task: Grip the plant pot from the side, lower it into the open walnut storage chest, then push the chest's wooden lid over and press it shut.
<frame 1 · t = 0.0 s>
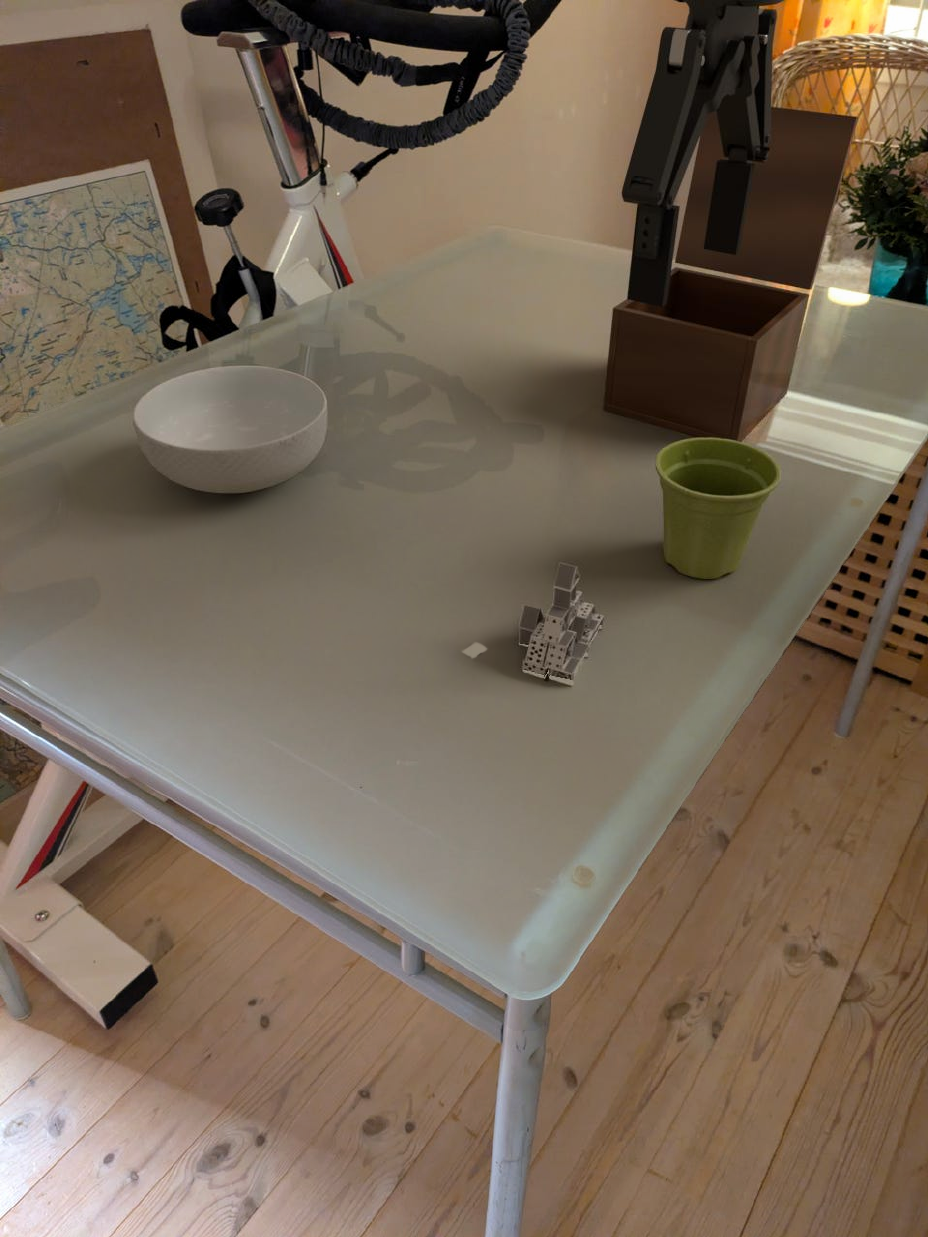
hand: (686, 275, 71), 20 cm above the table, tool pointing down, fingers open, 13 cm apart
house of cards: (536, 638, 70), on the table
plant pot: (699, 560, 78), on the table
chest lid: (760, 194, 95), point 19 cm above the table, hinge at 100.0°
chest: (696, 401, 101), on the table
cereal bowl: (242, 474, 89), on the table
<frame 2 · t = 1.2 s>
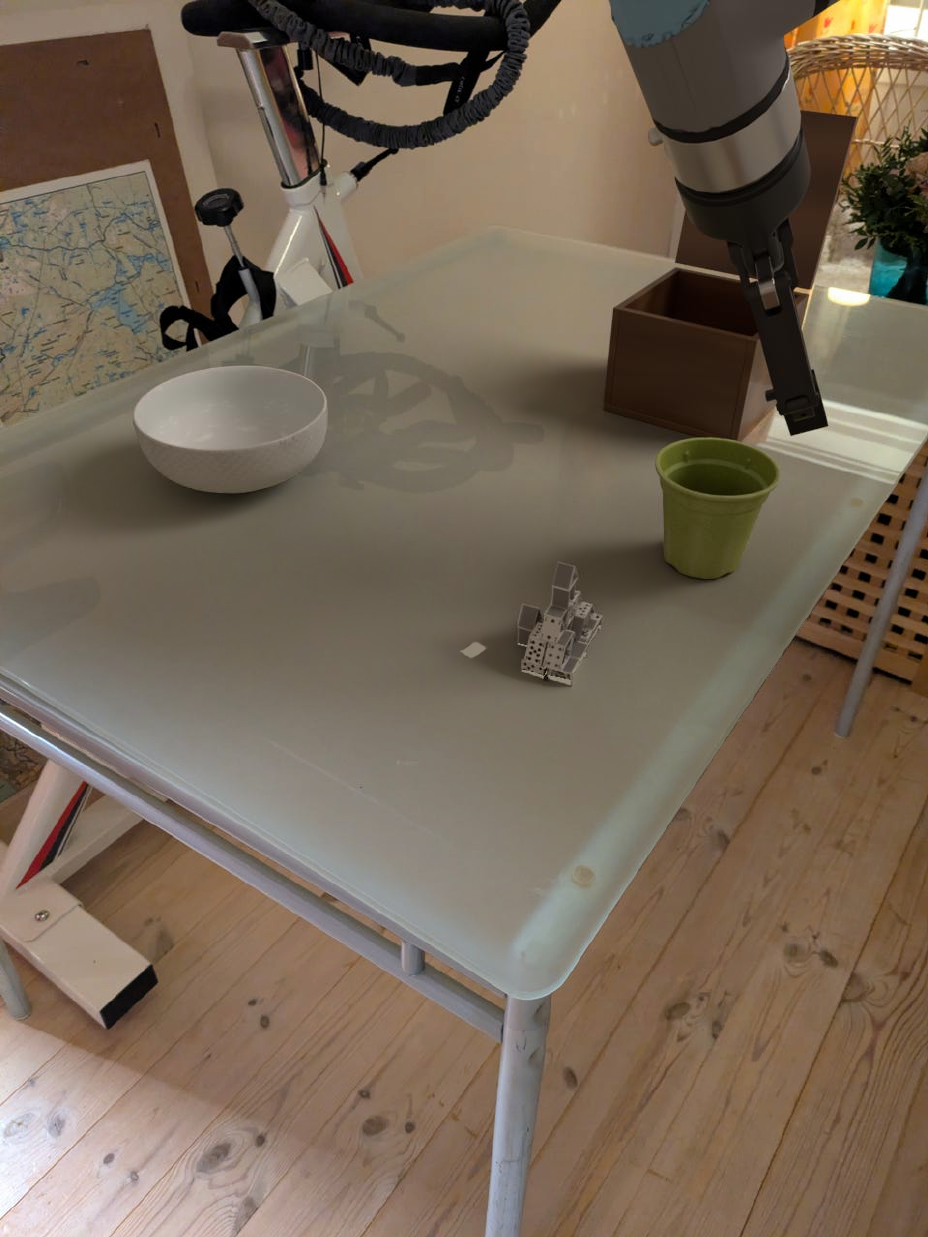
hand: (794, 352, 73), 15 cm above the table, tool tilted 40°, fingers open, 13 cm apart
nothing on the table moved.
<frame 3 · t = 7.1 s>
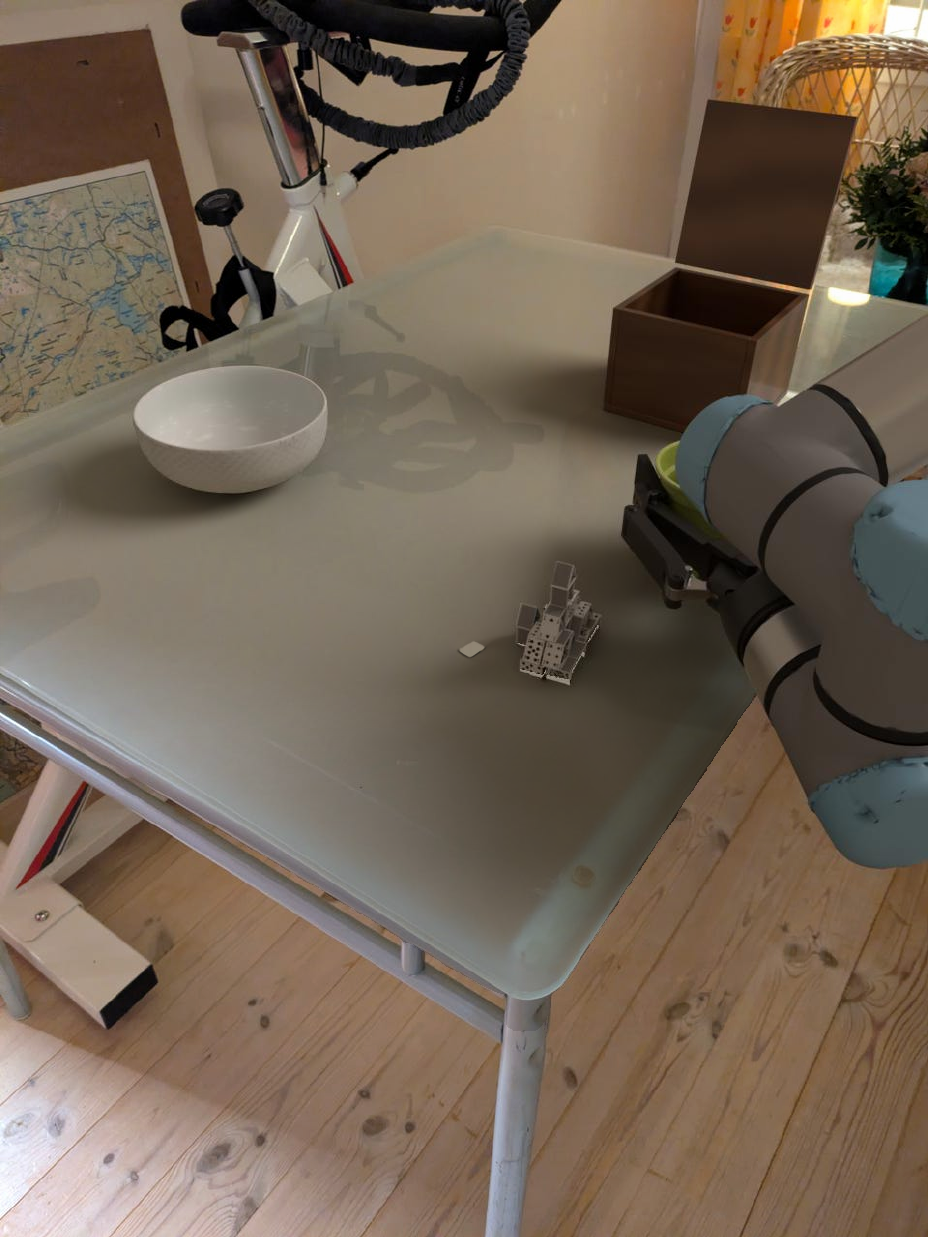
hand: (694, 466, 78), 6 cm above the table, tool horizontal, fingers closed on plant pot, 8 cm apart
plant pot: (699, 560, 78), on the table, touching gripper
everything else where it was.
when the fingers open (15 cm above the table, at t = 16.4 s): plant pot drops 6 cm, resting on chest.
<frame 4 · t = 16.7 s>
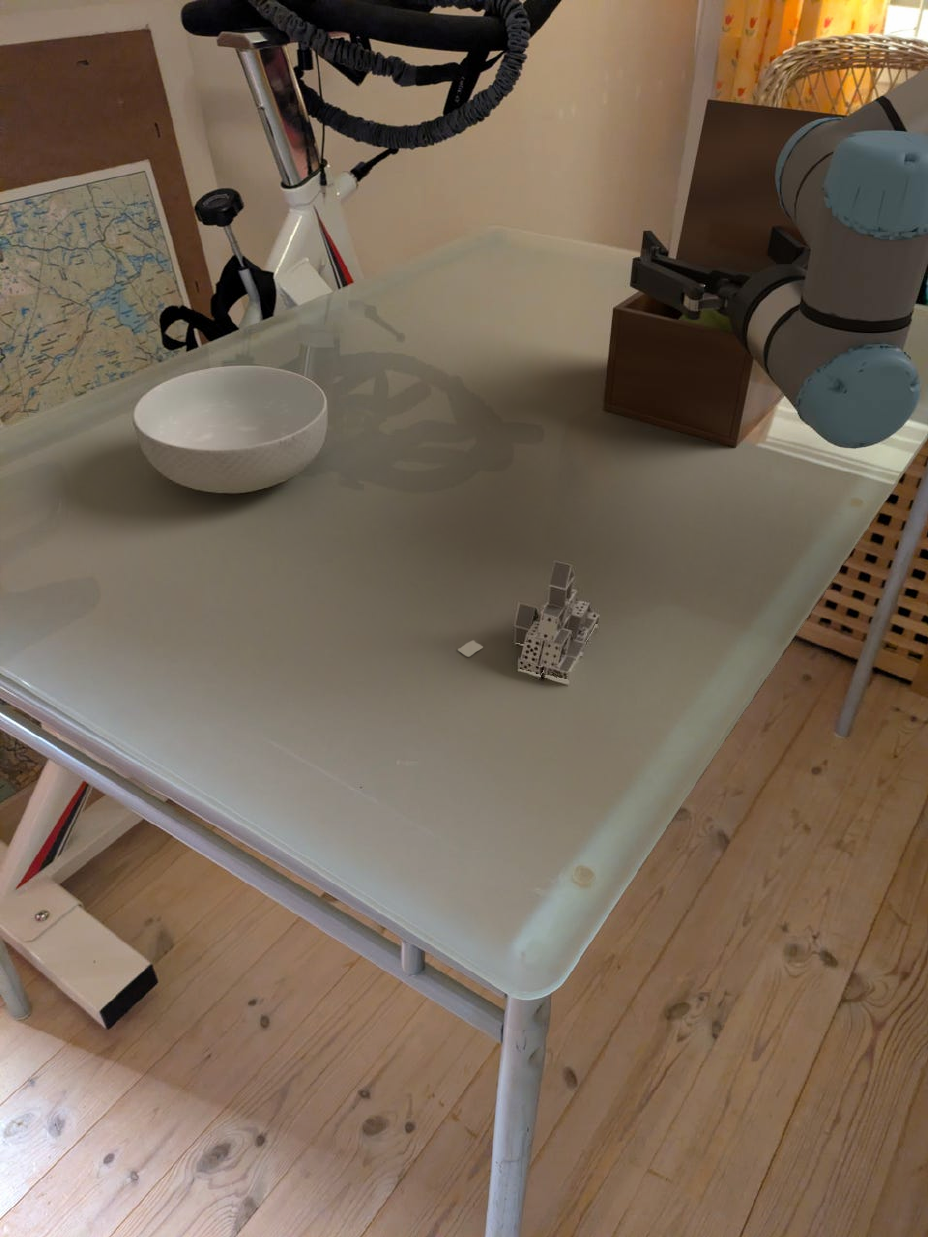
hand: (709, 242, 94), 15 cm above the table, tool horizontal, fingers open, 12 cm apart
plant pot: (661, 378, 98), point 3 cm above the table, touching chest
everything else where it was.
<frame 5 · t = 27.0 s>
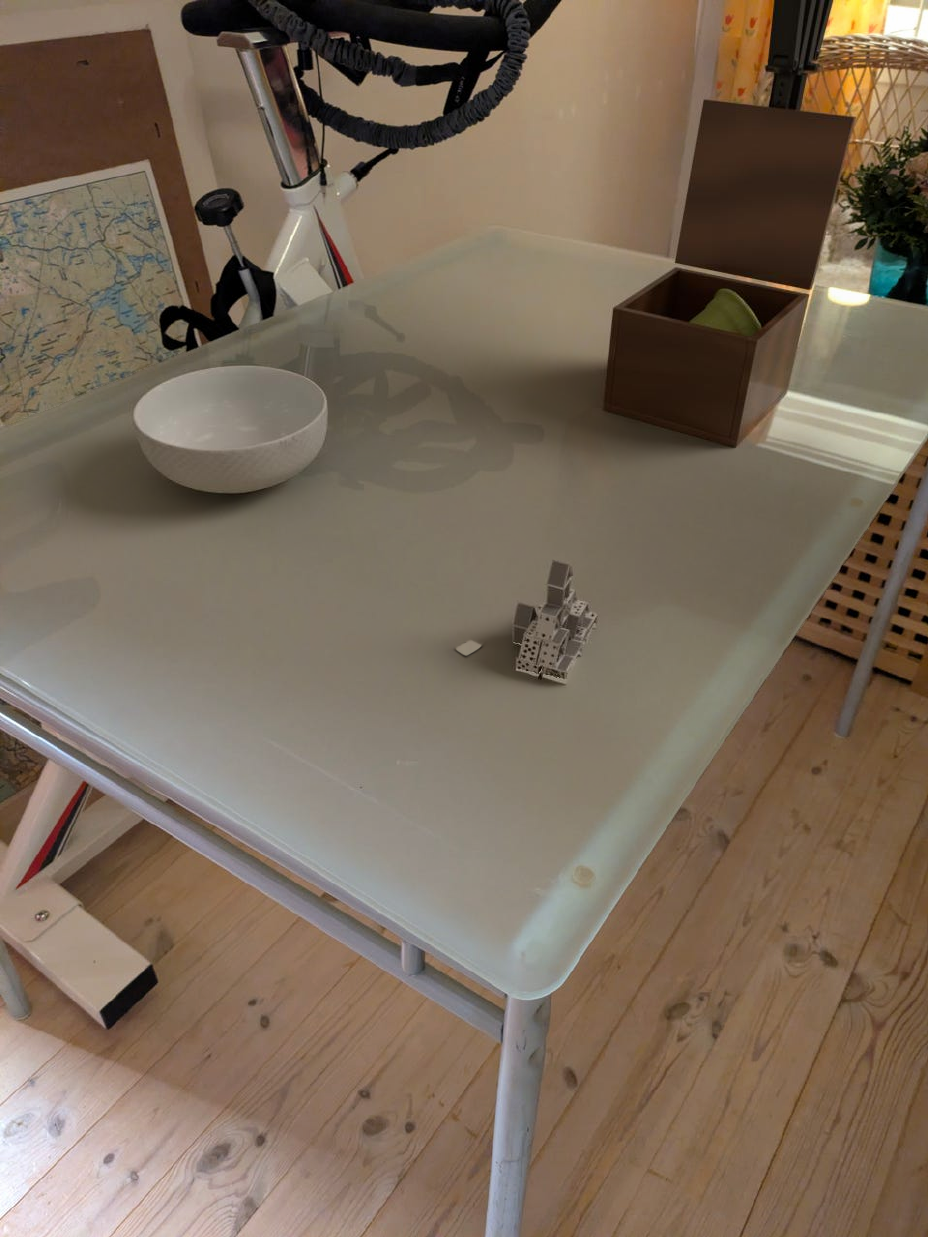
hand: (776, 147, 94), 23 cm above the table, tool pointing down, fingers closed
chest lid: (758, 195, 94), point 19 cm above the table, hinge at 96.1°
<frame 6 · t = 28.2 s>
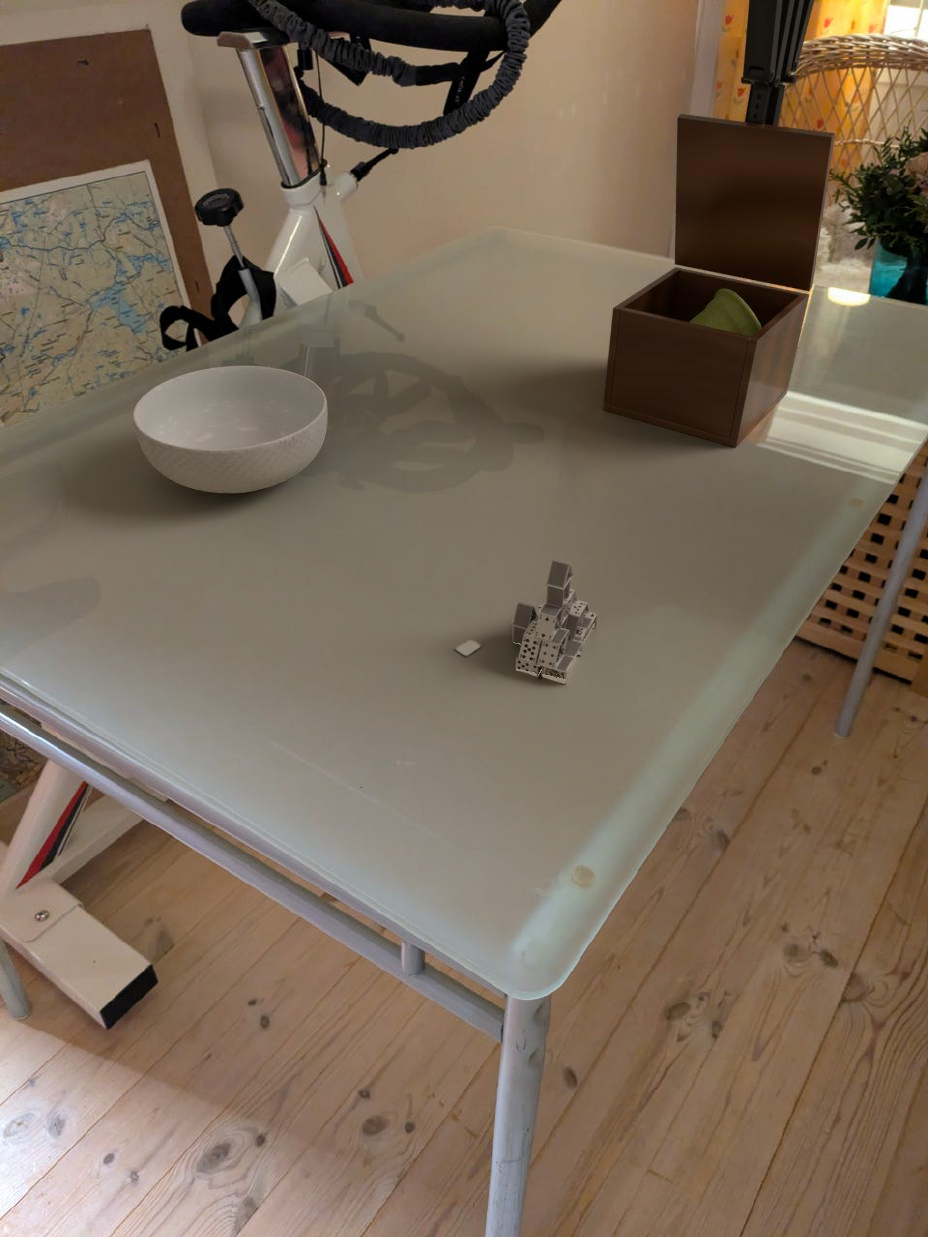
hand: (754, 161, 90), 22 cm above the table, tool pointing down, fingers closed
chest lid: (746, 205, 92), point 19 cm above the table, hinge at 73.8°, touching gripper
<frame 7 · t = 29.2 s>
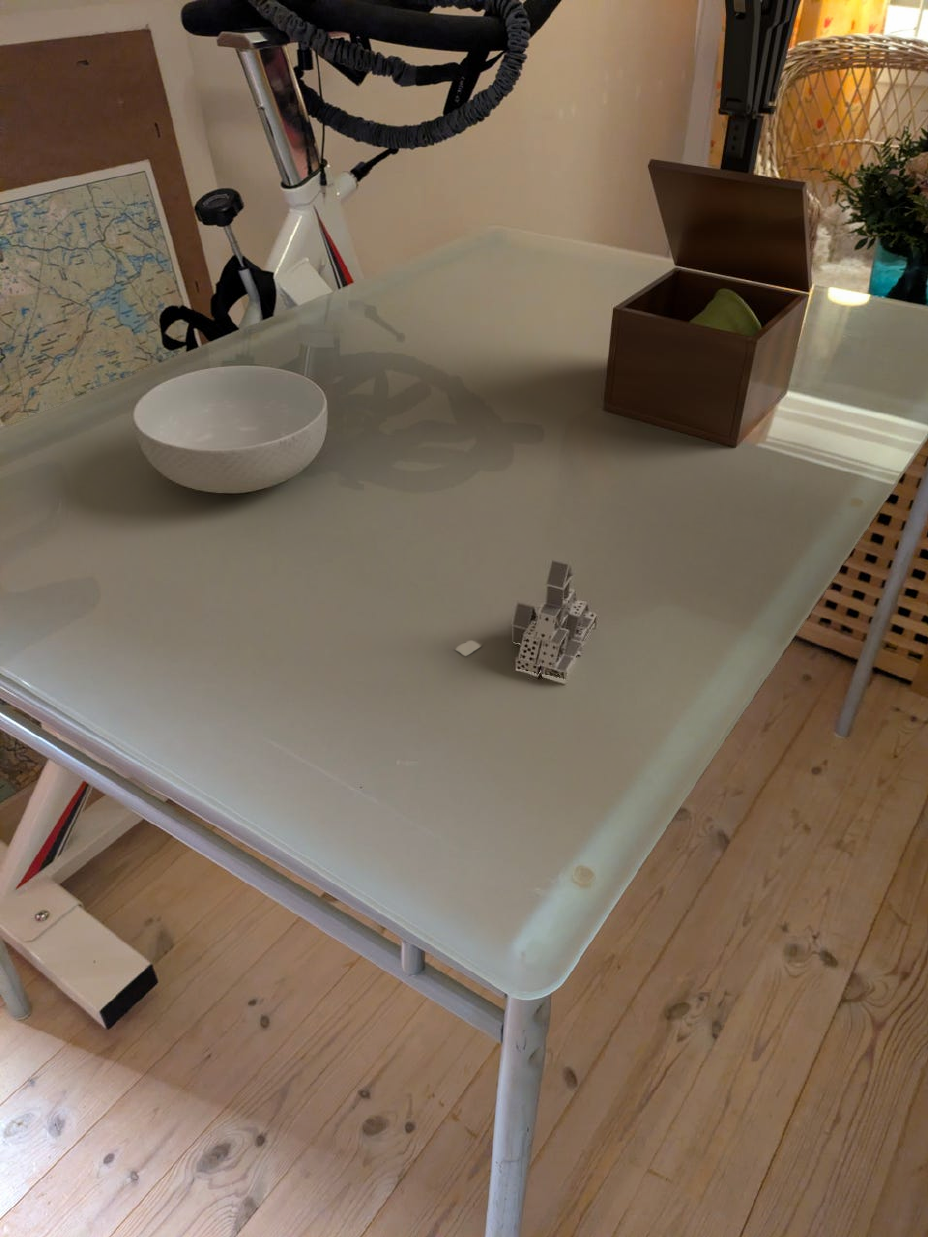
hand: (733, 192, 88), 21 cm above the table, tool pointing down, fingers closed
chest lid: (733, 228, 92), point 17 cm above the table, hinge at 49.8°, touching gripper
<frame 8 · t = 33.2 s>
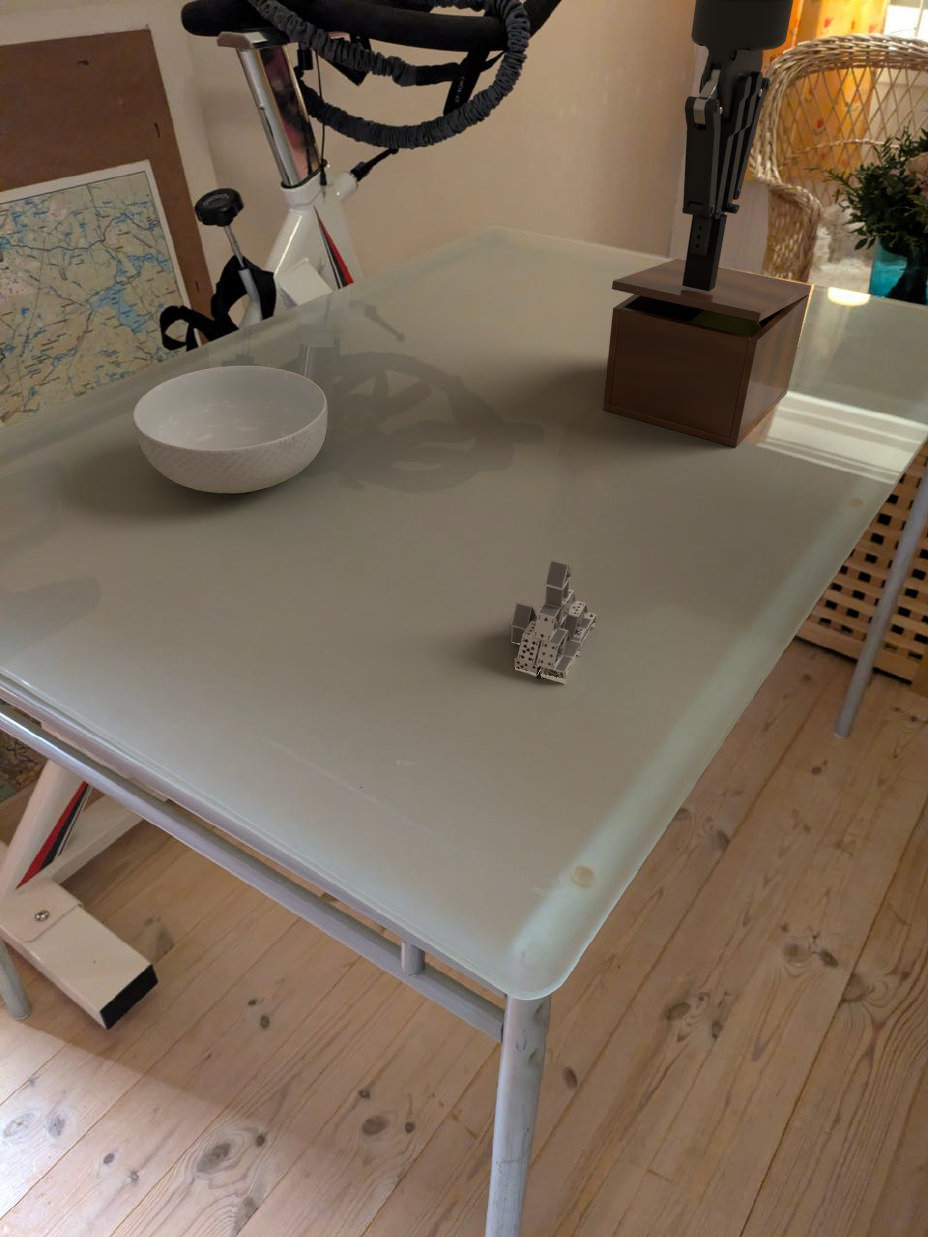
hand: (698, 286, 90), 13 cm above the table, tool pointing down, fingers closed
plant pot: (668, 375, 97), point 4 cm above the table, touching chest, chest lid
chest lid: (713, 287, 93), point 12 cm above the table, hinge at 7.3°, touching gripper, plant pot
everything else where it was.
at the end: plant pot inside the target area in the chest (3.9 cm from its centre), point 3.6 cm above the chest's base; chest lid at +7° (first picture: +100°) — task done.
